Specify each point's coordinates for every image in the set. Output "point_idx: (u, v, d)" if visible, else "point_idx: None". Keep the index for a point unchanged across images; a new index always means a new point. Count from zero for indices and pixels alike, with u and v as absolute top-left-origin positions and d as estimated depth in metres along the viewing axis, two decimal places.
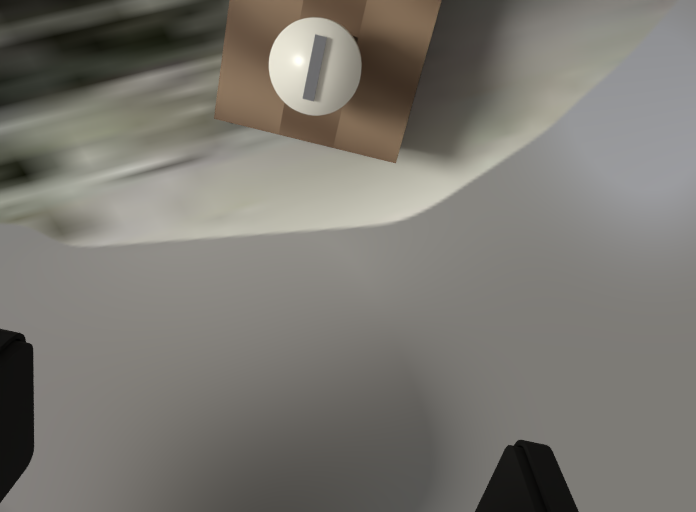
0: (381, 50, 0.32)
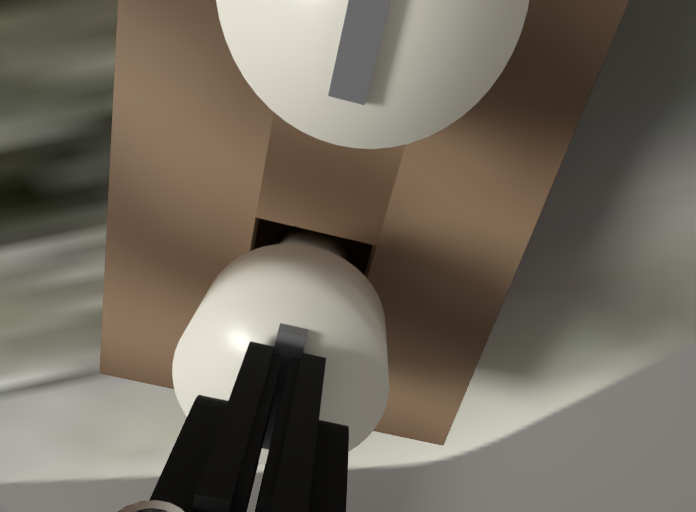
0: (423, 268, 0.16)
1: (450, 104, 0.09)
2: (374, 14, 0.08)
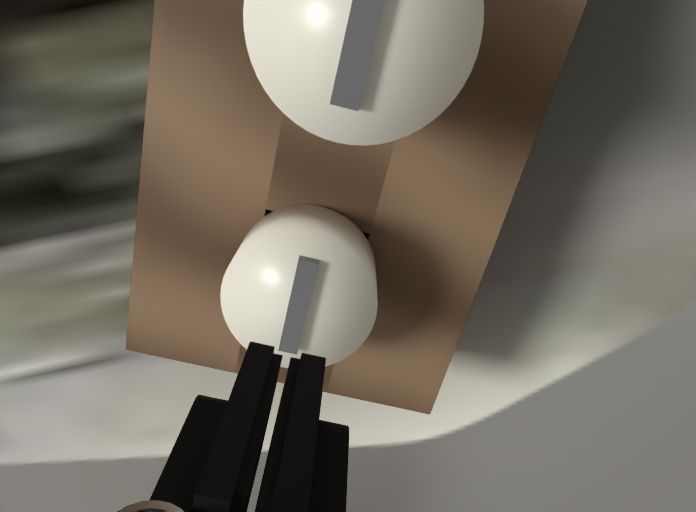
0: (410, 253, 0.18)
1: (424, 110, 0.11)
2: (364, 42, 0.10)
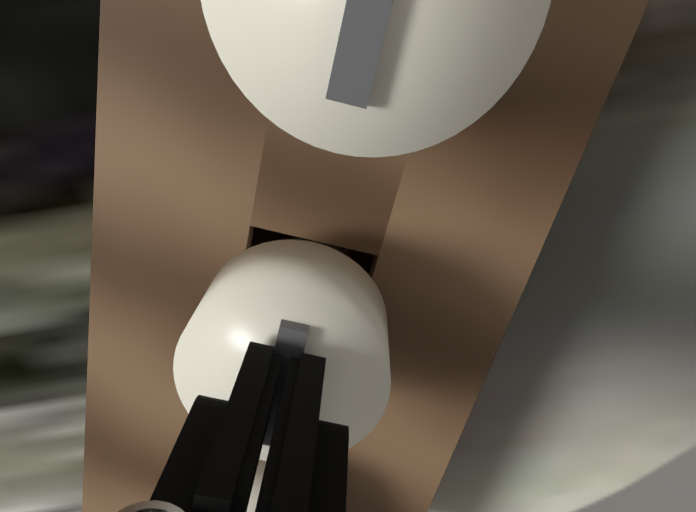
0: (359, 481, 0.18)
1: None
2: None
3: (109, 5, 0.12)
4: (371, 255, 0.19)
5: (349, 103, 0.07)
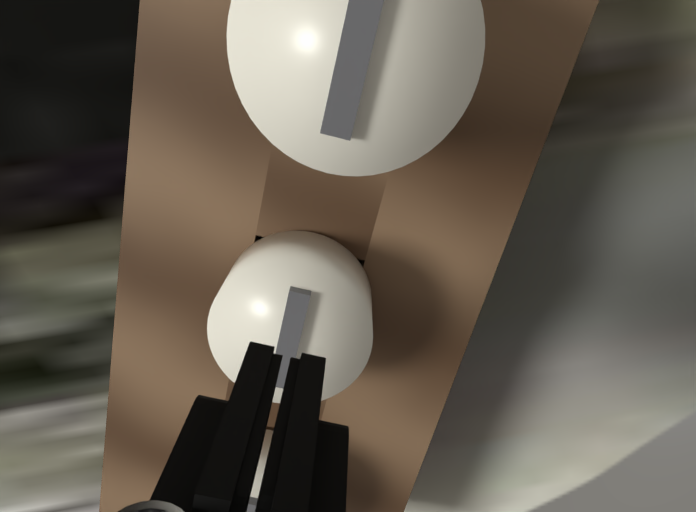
0: (349, 463, 0.20)
1: (336, 385, 0.16)
2: (290, 352, 0.15)
3: (143, 54, 0.15)
4: (360, 263, 0.21)
5: (337, 136, 0.10)
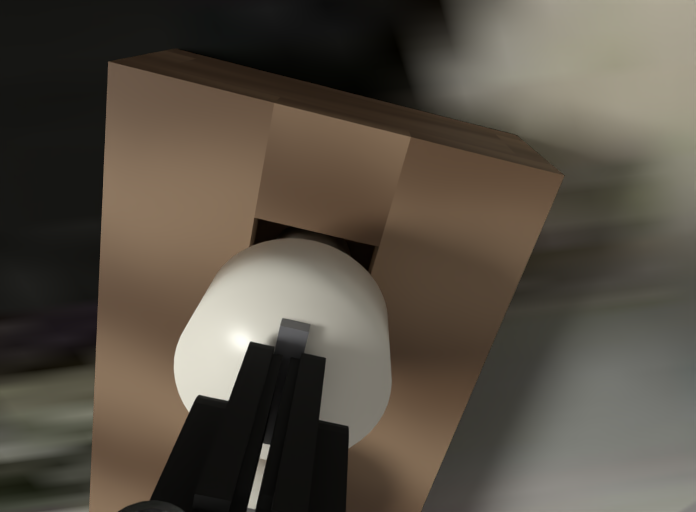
0: None
1: None
2: None
3: (105, 290, 0.16)
4: None
5: (269, 444, 0.12)
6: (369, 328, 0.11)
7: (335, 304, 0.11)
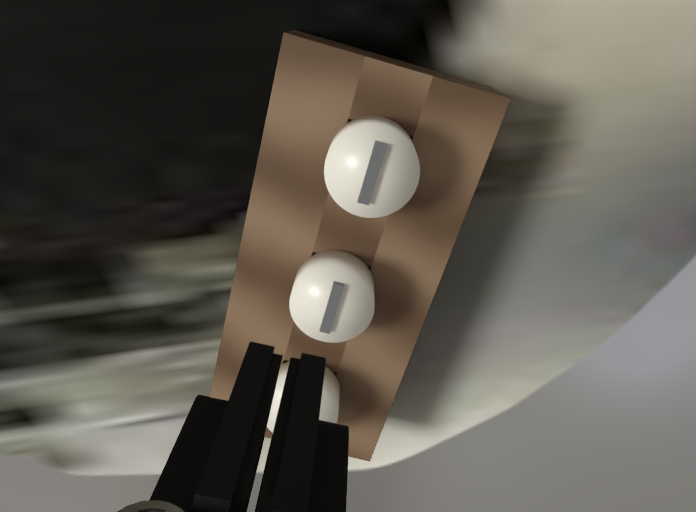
0: (357, 382, 0.35)
1: (354, 332, 0.30)
2: (332, 314, 0.30)
3: (261, 160, 0.29)
4: (367, 265, 0.36)
5: (364, 203, 0.27)
6: (412, 146, 0.26)
7: (398, 134, 0.26)
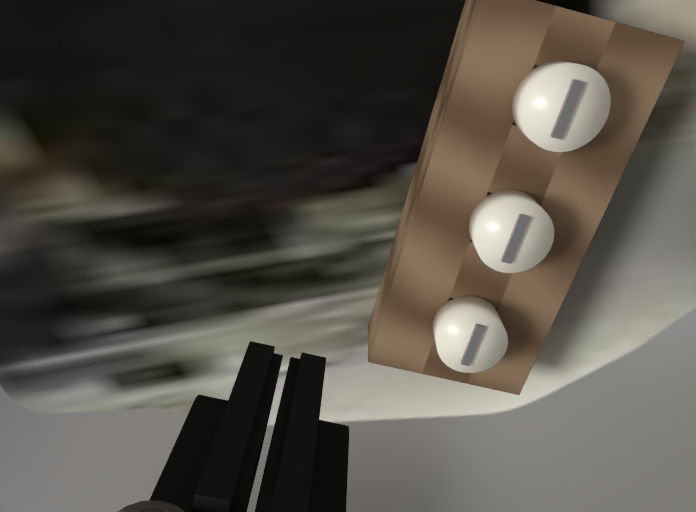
0: (516, 317, 0.38)
1: (532, 262, 0.33)
2: (515, 244, 0.33)
3: (451, 106, 0.32)
4: None
5: (557, 138, 0.30)
6: (605, 83, 0.29)
7: (594, 72, 0.29)
